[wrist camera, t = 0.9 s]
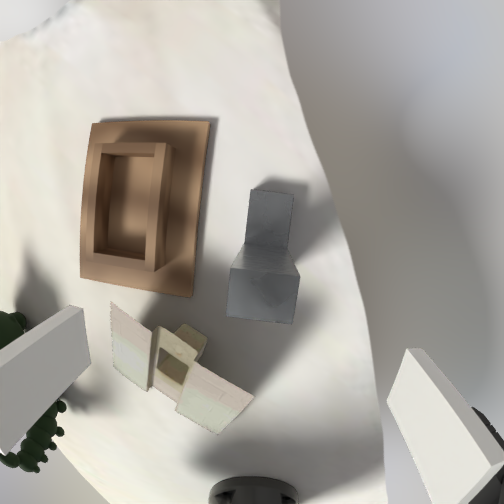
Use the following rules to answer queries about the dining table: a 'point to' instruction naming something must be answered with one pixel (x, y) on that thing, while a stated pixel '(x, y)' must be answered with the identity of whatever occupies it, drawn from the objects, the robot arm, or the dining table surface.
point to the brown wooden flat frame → (143, 204)
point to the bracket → (265, 263)
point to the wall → (175, 370)
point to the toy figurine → (39, 435)
